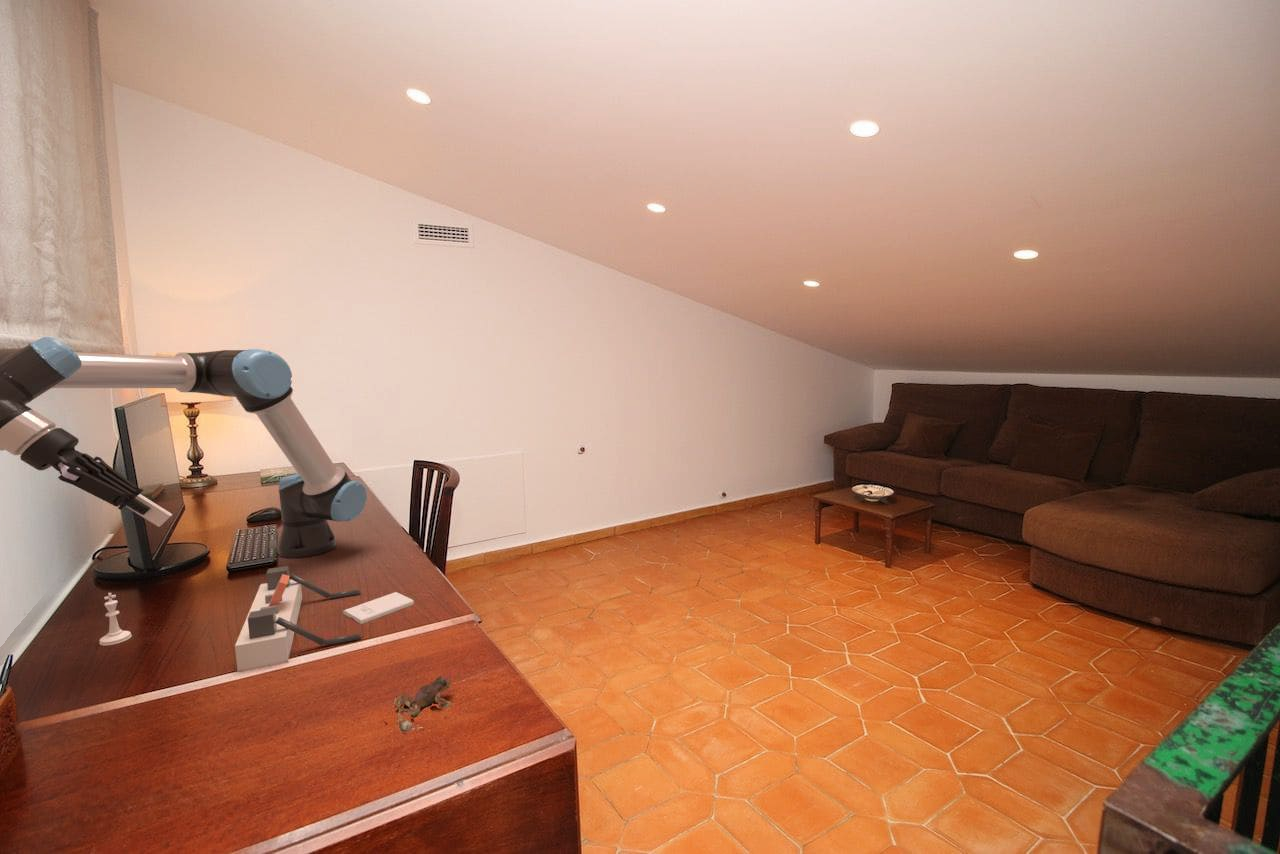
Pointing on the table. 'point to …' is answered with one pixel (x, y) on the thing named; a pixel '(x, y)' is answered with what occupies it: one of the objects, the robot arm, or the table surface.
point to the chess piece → (113, 625)
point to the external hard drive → (378, 607)
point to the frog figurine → (421, 701)
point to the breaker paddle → (279, 590)
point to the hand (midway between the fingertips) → (165, 520)
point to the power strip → (278, 622)
